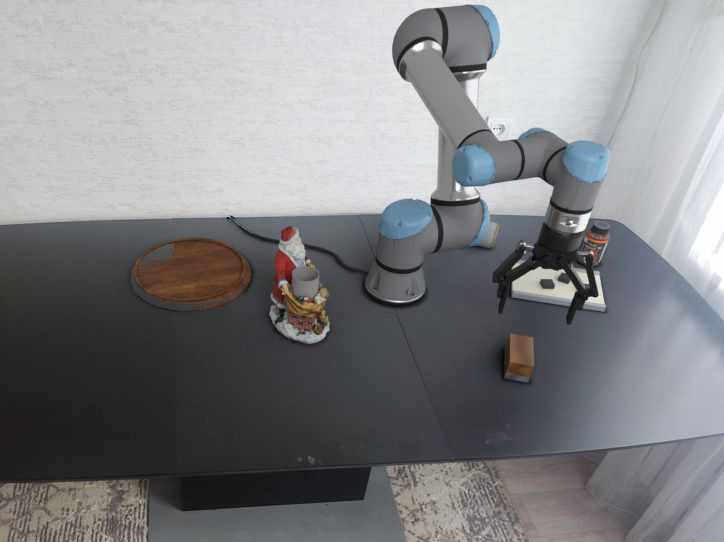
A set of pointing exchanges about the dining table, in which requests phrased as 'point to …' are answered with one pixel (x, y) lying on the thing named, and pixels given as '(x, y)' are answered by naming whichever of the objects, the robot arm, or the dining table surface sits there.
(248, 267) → the cutting board
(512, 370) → the eraser
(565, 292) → the whiteboard
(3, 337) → the dining table surface
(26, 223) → the dining table surface
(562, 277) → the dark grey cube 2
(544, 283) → the grey block
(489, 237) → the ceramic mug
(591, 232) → the supplement bottle
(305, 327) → the santa figurine
